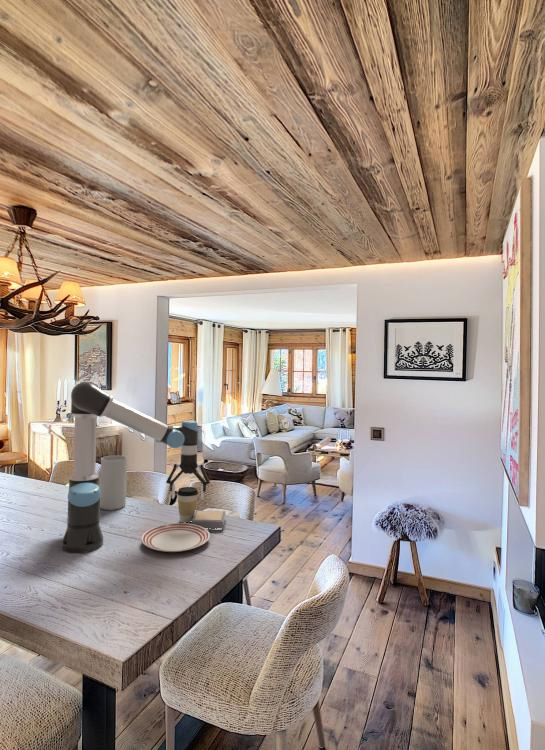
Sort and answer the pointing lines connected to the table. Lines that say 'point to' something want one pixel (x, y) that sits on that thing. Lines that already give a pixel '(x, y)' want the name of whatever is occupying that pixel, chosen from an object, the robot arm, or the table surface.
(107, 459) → the cylinder vase
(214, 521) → the trivet base
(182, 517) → the coffee cup
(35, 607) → the table surface
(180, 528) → the dinner plate
